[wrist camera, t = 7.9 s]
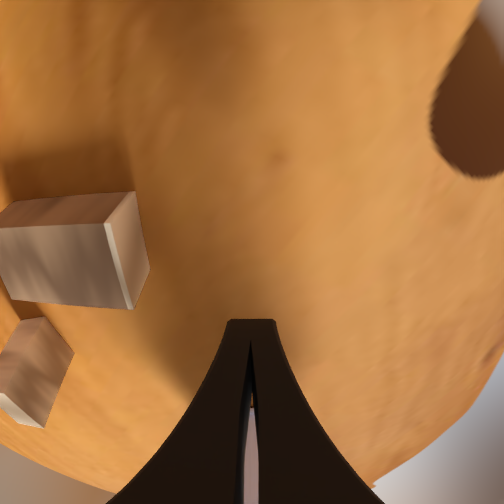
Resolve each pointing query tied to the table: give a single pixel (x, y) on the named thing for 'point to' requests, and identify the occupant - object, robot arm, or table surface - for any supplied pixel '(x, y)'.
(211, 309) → the table surface
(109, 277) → the walnut block
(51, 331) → the maple block
